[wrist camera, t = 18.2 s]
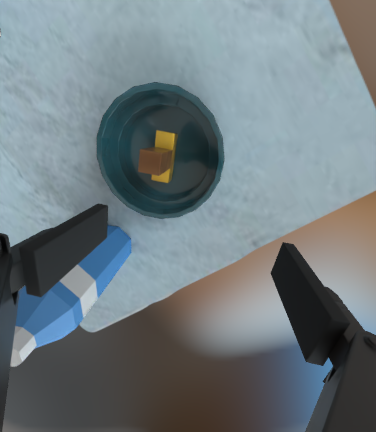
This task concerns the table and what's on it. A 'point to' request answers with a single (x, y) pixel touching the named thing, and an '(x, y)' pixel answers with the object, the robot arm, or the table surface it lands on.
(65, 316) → the water bottle
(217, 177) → the wash bowl
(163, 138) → the yellow-tipped brown block
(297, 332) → the robot arm
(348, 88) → the table surface
